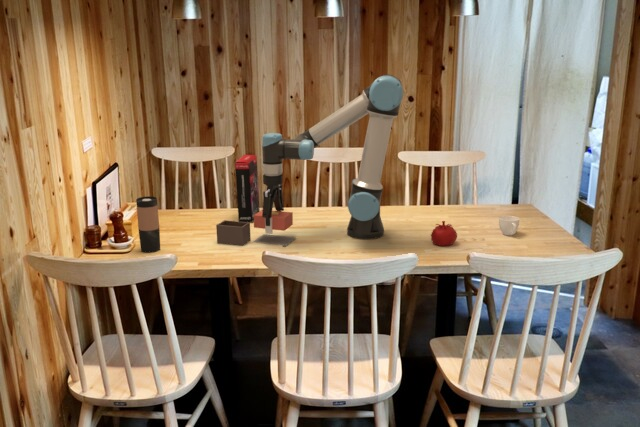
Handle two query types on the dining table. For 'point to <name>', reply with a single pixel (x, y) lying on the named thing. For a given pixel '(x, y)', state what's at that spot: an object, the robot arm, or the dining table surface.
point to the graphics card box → (247, 187)
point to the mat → (275, 239)
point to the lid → (275, 220)
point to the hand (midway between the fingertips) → (273, 229)
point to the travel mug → (148, 224)
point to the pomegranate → (443, 235)
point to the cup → (508, 225)
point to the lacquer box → (233, 233)
